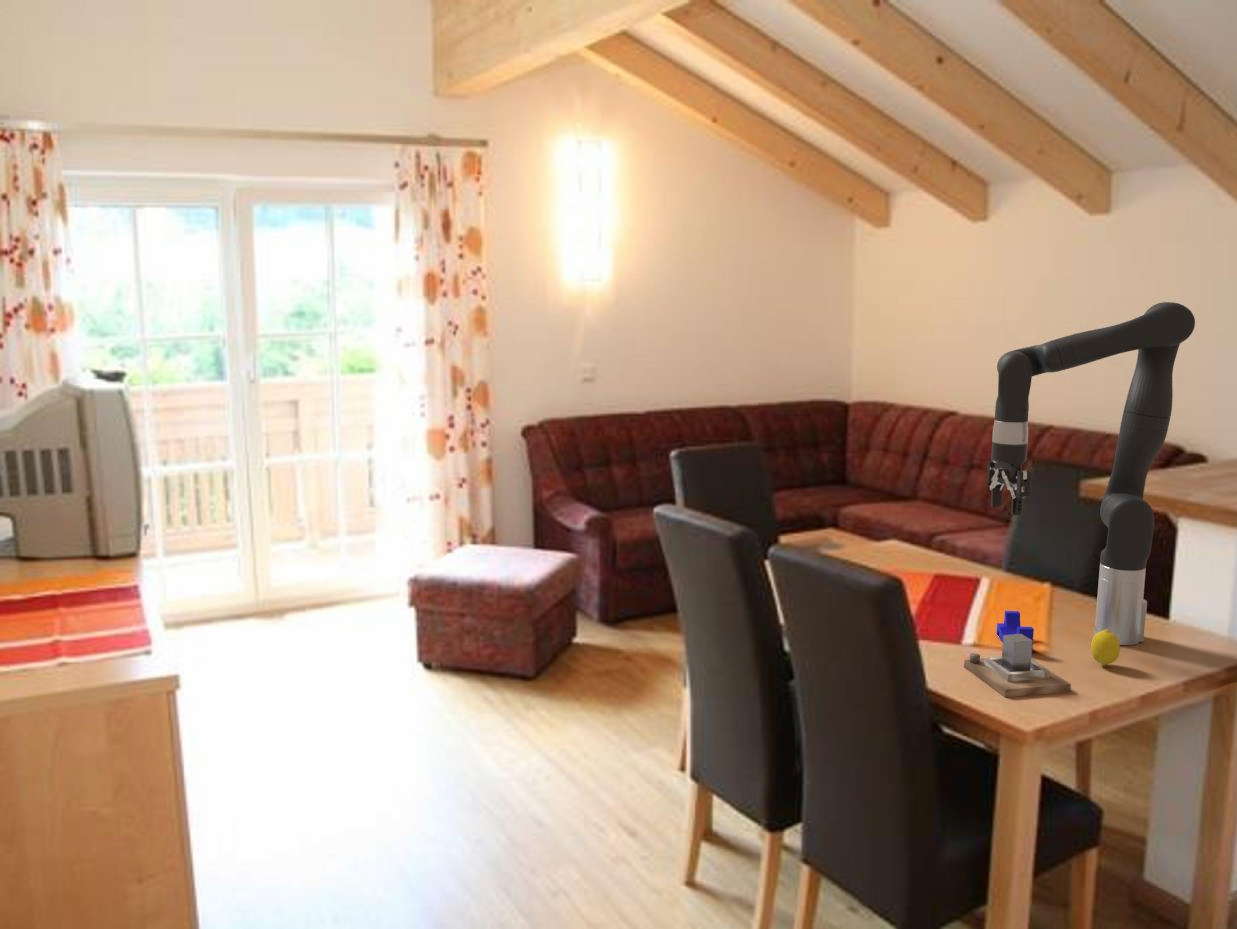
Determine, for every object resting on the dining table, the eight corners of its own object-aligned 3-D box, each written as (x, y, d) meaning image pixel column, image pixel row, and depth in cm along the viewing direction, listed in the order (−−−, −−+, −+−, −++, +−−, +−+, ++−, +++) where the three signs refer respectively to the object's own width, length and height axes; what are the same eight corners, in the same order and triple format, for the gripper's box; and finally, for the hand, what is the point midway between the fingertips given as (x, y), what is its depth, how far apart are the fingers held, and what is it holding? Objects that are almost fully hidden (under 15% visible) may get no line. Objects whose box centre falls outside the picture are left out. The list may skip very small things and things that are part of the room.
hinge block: (1018, 666, 210) (1021, 633, 209) (1030, 673, 206) (1032, 640, 205) (1001, 667, 209) (1003, 635, 208) (1012, 674, 206) (1014, 641, 204)
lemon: (1116, 672, 211) (1119, 635, 210) (1087, 667, 214) (1090, 631, 212) (1119, 664, 216) (1123, 628, 214) (1091, 659, 219) (1094, 623, 217)
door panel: (1025, 662, 217) (1025, 648, 217) (1070, 691, 202) (1071, 676, 201) (963, 667, 215) (964, 653, 214) (1005, 697, 199) (1005, 682, 199)
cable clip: (996, 635, 234) (997, 610, 233) (1016, 636, 233) (1018, 611, 232) (1010, 654, 222) (1012, 628, 221) (1032, 655, 222) (1033, 629, 221)
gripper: (1043, 444, 224) (1038, 516, 227) (1008, 435, 238) (1003, 503, 241) (1012, 446, 223) (1007, 518, 226) (978, 436, 237) (974, 504, 240)
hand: (1005, 510), depth 233 cm, fingers open, 8 cm apart
